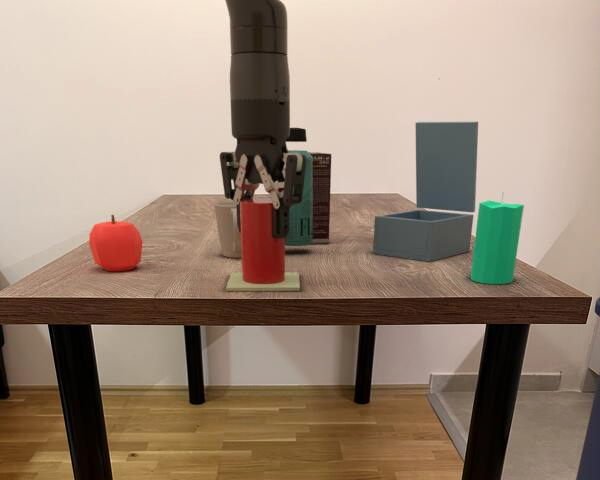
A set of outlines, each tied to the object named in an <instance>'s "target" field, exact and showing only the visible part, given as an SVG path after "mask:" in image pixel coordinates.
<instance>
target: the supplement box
mask: <svg viewBox="0 0 600 480" xmlns="http://www.w3.org/2000/svg"><path fill="white" fill-rule="evenodd" d="M308 152H309V153H310V155H311V156H312V157H313V161H312V178H313V191H314V192H313V193H314V194H313V227H312V229H313V234H312V239H313V240H312V244H311V245H321V244H323V245H324V244H329V243H330V220H331V219H330V218H331V217H330V215H331V187H332V186H331V185H332V184H331V183H332V182H331V181H332V180H331V178H332V153H327V152H315V151H308Z"/></svg>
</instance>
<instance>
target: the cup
mask: <svg viewBox="0 0 600 480" xmlns="http://www.w3.org/2000/svg"><path fill="white" fill-rule="evenodd" d="M213 206H214V207H213V208H214V213H215V220H216V228H217V234H218V239H219V244H220V249H221V255H222V256H224V257H226V258H231V259H242V249H241V233H240V232H239V228H238V226H237V207H236V204H235V203H234V201H233V200H231V201H230V200H229V201H218V202H214V204H213Z"/></svg>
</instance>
